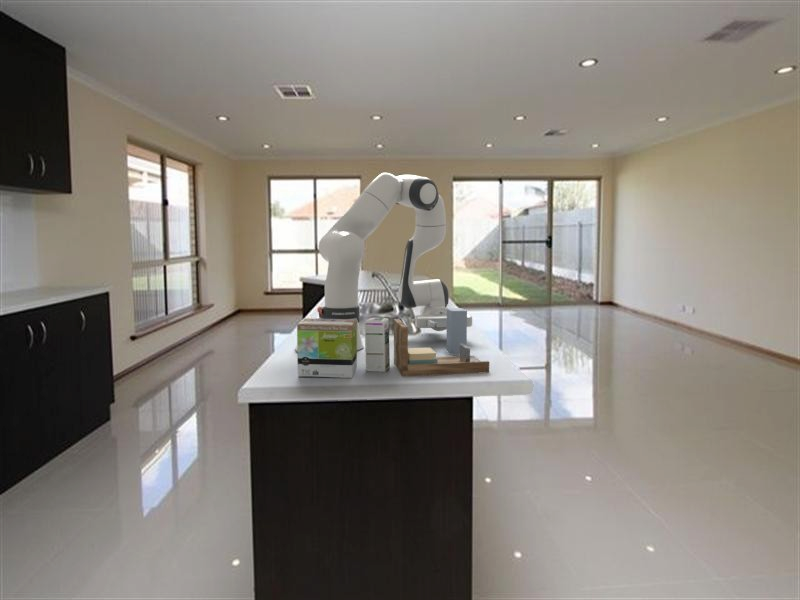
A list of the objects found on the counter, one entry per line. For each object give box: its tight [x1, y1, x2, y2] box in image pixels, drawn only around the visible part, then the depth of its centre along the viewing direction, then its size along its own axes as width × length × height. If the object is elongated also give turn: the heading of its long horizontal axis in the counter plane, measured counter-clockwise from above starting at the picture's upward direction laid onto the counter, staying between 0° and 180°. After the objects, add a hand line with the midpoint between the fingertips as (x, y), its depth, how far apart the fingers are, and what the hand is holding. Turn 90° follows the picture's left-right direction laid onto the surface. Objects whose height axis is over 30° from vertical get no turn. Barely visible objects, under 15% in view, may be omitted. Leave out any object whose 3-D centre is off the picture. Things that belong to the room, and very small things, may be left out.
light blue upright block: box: [445, 307, 468, 355], centre depth 173 cm, size 5×6×14 cm
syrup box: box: [364, 317, 391, 373], centre depth 151 cm, size 6×6×14 cm
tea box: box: [296, 317, 358, 379], centre depth 147 cm, size 15×10×15 cm
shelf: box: [393, 318, 490, 377], centre depth 152 cm, size 14×24×14 cm, turn 100°
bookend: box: [459, 344, 481, 362], centre depth 153 cm, size 6×5×5 cm
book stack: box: [408, 347, 438, 364], centre depth 152 cm, size 8×8×4 cm
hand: (448, 324), depth 182 cm, fingers open, 8 cm apart
